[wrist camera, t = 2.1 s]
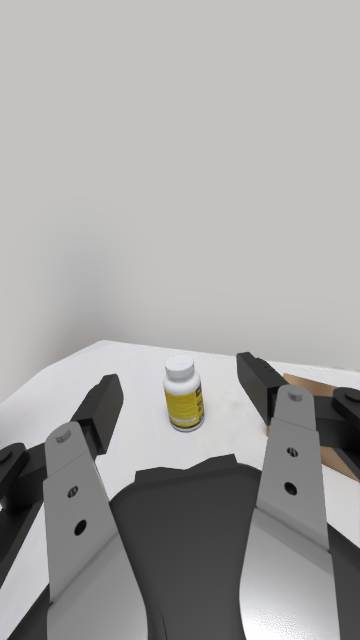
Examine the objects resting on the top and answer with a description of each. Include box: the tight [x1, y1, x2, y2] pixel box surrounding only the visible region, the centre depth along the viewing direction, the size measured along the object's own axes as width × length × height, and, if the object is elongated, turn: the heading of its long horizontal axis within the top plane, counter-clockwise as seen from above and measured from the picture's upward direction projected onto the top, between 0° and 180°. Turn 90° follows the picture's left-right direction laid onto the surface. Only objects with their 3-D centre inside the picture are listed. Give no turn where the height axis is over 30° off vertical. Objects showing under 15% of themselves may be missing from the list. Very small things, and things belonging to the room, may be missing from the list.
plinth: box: [267, 373, 360, 482], centre depth 22 cm, size 9×9×4 cm
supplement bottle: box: [163, 355, 204, 431], centre depth 26 cm, size 5×5×10 cm
